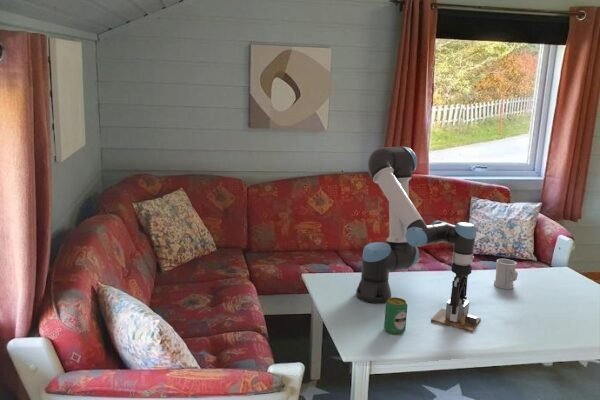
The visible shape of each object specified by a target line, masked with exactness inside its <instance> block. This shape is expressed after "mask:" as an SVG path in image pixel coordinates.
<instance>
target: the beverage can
mask: <svg viewBox="0 0 600 400" xmlns="http://www.w3.org/2000/svg"><path fill="white" fill-rule="evenodd" d="M407 313H408V303H407V301H406V300H405V299H404V298H400V297H391V298H389V299H388V301H387V302H385V311H384V322H383V323H384V324H383V329H384V331H385V332H386V333H387V334H390V335H393V336H401V335H403V334H404V333H405V332H406V328H407Z"/></svg>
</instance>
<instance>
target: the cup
mask: <svg viewBox="0 0 600 400" xmlns="http://www.w3.org/2000/svg"><path fill="white" fill-rule="evenodd" d="M517 264H518V263H517V262H516V261H515V260H511V259H507V258H498V259H496V265H495V266H496V269H495V280H493V281H494V282H493V285H494V287H497V288H499V289H503V290H511V289H513V288H514V286H515V284H514V282H515V281H517V278H518V276H519V275H518V271H517V270H516V268H517Z"/></svg>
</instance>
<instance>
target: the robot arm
mask: <svg viewBox="0 0 600 400" xmlns="http://www.w3.org/2000/svg"><path fill="white" fill-rule="evenodd" d="M417 167H418V157H417V155H416V153H415V152H414V151H413V149H411V148H410V147H407V146H389V147H385V146H384V147H383V146H382V147H379V148H376V149H375V150H373V151H372V152H371V153H370V155H369V156H368V160H367V170H368V174H369V175H370V178H371V179H372V181H373V183H375V184H377V185H378V186H379V188H380V190H381V191H382V193H383V194H384V196H385V198H386V199H387V201H388V213H389V214H388V217H389V219H388V221H389V222H388V223H389V224H388V225H389V236H388V237H387V238H386V241H385V242H383V241H379V242H377V241H375V242H371V243H368V244H366V245H365V246H364V248H363V251H362V256H361V258H362V261H361V262H362V264H361V275H360V276H361V277H360V278H361V279H360V281H359V284H358V286H357V288H356V292H355V297H356V298H357V299H358V300H360V301H362V302H365V303H370V304H386V302H387V301H388V299H389V298H392V291H391V287H390V282H389V278H390V277H389V275H390V273H393V272H397V271H402V270H408V269H411V268H412V267H414V266H415V265H417V263H418V260H419V259H420V258H419V257H420V256H419V255H420V251H419V248H418V247H424V246H428V245H436V244H441V243H445V244H446V243H447V244H450V245H452V246H453V249H452V250H453V252H452V259H451V260H452V262H451V270H450V271H451V272H452V273H454V274H455V276H453V277H454V278H453V280H452V284H451V286H452V287H451V294H450V299H451V300H450V299H449V300H450V303H449V305H450V306H451V314H450V321H453V322H457V319H458V310H459V306H458V303H459V299H463V300H467V290H468V277H469V275H471V273H472V269H473V264H472V263H473V261H474V259H475V256H474V250H475V249H474V248H475V241H476V236H477V235H476V234H477V233H476V230H477V229H476V228H477V227H476V225H475V224H473V223H472V222H471V223H470V222H464V221H462V222H457V223H456V224H451V223H449V222H446V221H443V220H434V221H433V222H431V223H430V224H427V223H426V222H425V221H424V219H423V217H422V215H421V214H420V213H419V210H418V209H417V208H416V206H415V205H414V203H413V201H412V200H411V199H410V197H409V195H410V194H409V188H410V187H409V181H411V179H412V178H413V173H414V172H415V171H416V169H417Z"/></svg>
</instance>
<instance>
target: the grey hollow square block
mask: <svg viewBox="0 0 600 400" xmlns="http://www.w3.org/2000/svg"><path fill="white" fill-rule="evenodd" d="M450 300H451V298H449V299H448V301H447V302H446V308H445V309H446V315H445V319H446V320H450V314H451V306H450V305H449V303H450ZM461 300H462V304H458V306H459V310H458V319H457V322H458V323H460V322H461V315H465V316H466V317H465V322H469V323H473V324H476V323H477V319H478V318H479V317H478V316H476V315H473V314H469V310H470V308H469V307H470V300H467V299H461Z"/></svg>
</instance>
